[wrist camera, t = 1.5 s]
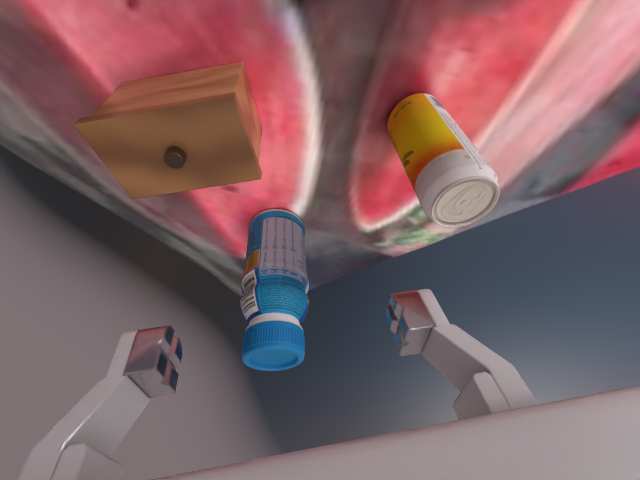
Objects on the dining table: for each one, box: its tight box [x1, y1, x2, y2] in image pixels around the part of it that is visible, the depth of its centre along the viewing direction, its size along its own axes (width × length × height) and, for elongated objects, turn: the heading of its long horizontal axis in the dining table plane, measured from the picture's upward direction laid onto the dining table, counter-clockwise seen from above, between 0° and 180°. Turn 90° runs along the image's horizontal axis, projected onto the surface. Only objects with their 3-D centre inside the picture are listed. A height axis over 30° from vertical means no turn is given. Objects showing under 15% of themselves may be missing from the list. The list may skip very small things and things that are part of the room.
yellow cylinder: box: [387, 93, 499, 228], centre depth 30 cm, size 6×6×15 cm
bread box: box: [74, 62, 262, 199], centre depth 29 cm, size 8×13×10 cm, turn 97°
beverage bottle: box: [240, 209, 309, 371], centre depth 39 cm, size 8×8×20 cm
